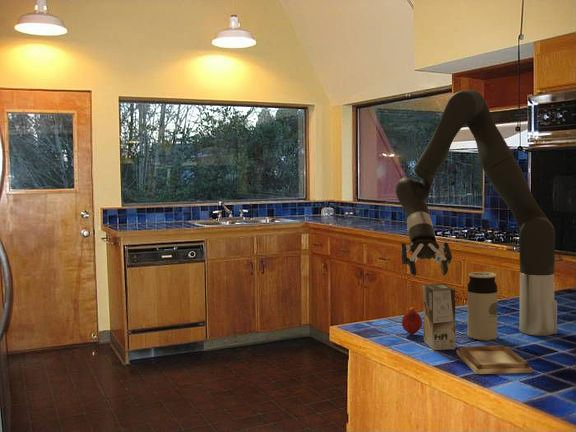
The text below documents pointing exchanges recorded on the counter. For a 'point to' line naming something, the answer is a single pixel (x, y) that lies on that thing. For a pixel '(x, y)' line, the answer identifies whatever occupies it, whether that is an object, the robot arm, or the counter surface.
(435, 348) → the coffee box
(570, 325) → the counter surface
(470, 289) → the travel mug
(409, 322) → the onion
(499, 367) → the wooden tray
